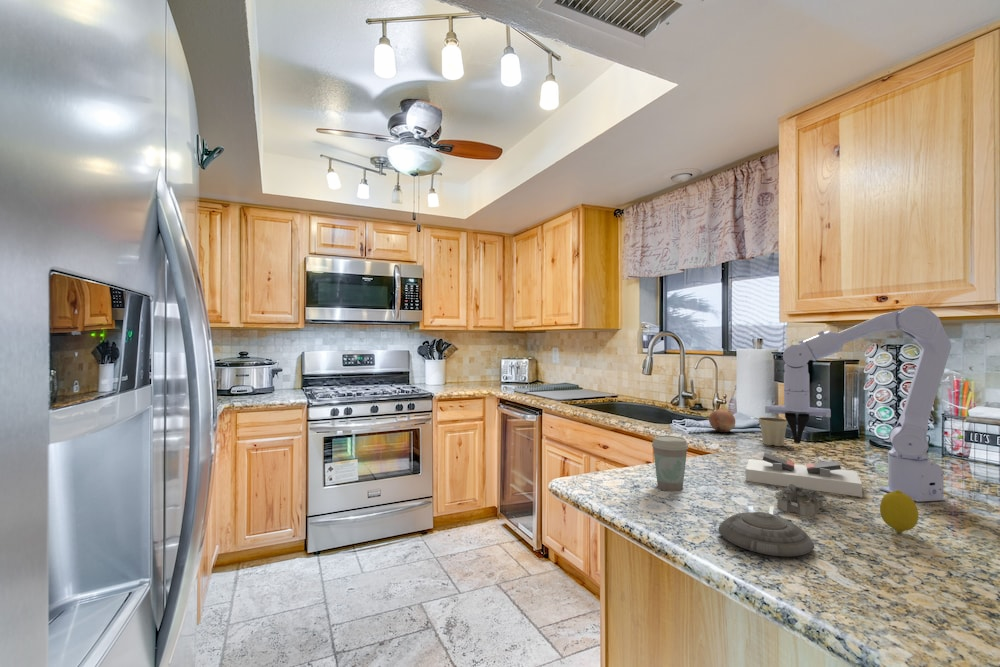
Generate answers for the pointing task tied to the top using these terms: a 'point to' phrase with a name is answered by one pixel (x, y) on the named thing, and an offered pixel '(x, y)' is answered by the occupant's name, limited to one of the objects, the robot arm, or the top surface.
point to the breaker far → (778, 461)
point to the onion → (722, 420)
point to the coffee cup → (670, 461)
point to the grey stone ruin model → (799, 500)
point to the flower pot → (773, 430)
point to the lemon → (899, 511)
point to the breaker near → (823, 466)
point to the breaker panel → (805, 477)
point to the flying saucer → (766, 534)
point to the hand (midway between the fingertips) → (797, 442)
